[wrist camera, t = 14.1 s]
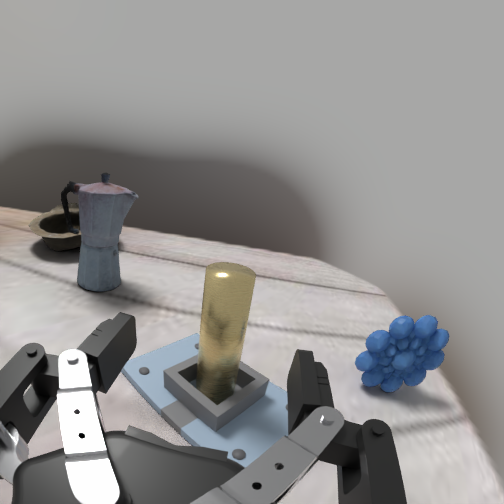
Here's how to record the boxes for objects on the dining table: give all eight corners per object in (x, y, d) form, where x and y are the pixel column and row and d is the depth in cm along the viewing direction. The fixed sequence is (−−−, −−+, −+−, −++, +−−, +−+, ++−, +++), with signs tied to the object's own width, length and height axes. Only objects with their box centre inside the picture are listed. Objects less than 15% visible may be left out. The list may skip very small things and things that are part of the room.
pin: (187, 390, 26) (195, 267, 22) (214, 375, 29) (230, 259, 25) (214, 412, 24) (232, 286, 20) (241, 394, 27) (265, 275, 23)
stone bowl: (115, 229, 78) (117, 199, 75) (118, 267, 58) (119, 228, 55) (41, 228, 66) (41, 198, 62) (20, 266, 46) (16, 227, 43)
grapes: (417, 378, 33) (451, 308, 30) (422, 408, 27) (467, 332, 23) (347, 363, 36) (376, 288, 33) (344, 393, 30) (380, 311, 27)
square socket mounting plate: (121, 371, 28) (117, 346, 27) (196, 339, 37) (198, 317, 36) (245, 487, 17) (252, 470, 16) (315, 416, 26) (326, 394, 25)
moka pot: (130, 298, 44) (135, 176, 38) (52, 288, 40) (48, 173, 34) (139, 275, 53) (145, 173, 47) (70, 268, 49) (71, 169, 43)
